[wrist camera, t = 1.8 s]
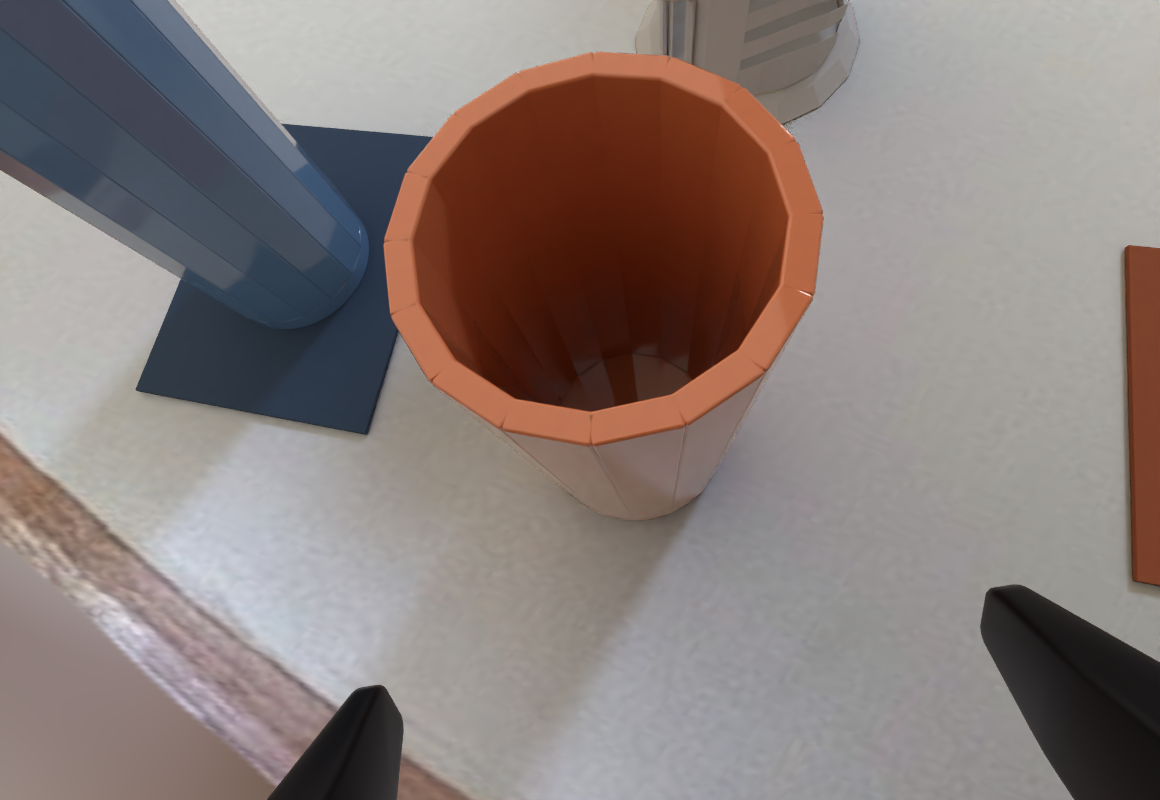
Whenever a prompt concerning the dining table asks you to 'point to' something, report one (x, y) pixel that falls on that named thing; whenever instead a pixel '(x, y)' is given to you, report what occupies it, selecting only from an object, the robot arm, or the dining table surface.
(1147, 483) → the clay pad
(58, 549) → the dining table surface
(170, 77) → the blue tumbler
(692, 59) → the french press
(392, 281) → the terracotta tumbler
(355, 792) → the robot arm
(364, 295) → the blue pad
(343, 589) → the dining table surface
